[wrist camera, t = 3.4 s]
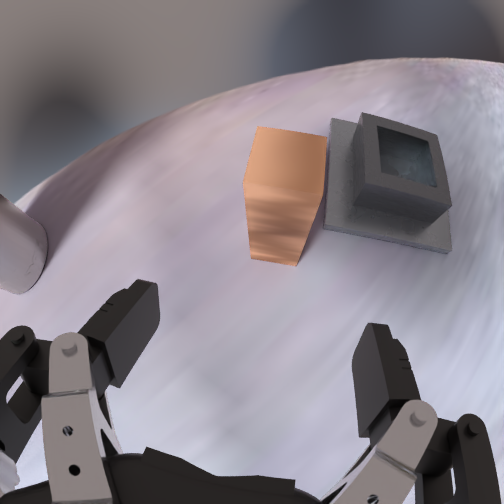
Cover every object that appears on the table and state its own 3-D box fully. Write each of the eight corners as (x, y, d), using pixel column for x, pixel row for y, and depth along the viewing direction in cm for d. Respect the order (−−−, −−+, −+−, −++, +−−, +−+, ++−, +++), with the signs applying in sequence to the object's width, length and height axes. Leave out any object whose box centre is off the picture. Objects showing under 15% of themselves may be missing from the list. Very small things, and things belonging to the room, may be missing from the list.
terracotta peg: (251, 258, 25) (242, 182, 14) (259, 218, 27) (257, 126, 15) (296, 266, 25) (322, 195, 14) (301, 225, 26) (327, 137, 15)
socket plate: (323, 228, 26) (335, 202, 21) (330, 123, 31) (337, 92, 26) (446, 254, 25) (473, 236, 20) (432, 151, 29) (449, 126, 25)
